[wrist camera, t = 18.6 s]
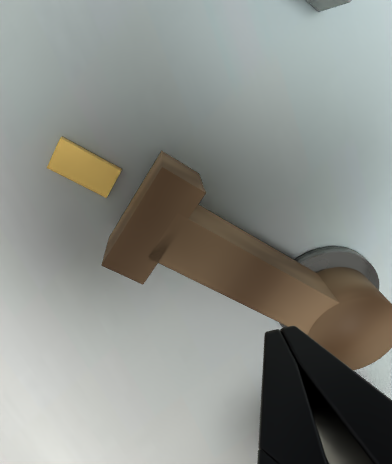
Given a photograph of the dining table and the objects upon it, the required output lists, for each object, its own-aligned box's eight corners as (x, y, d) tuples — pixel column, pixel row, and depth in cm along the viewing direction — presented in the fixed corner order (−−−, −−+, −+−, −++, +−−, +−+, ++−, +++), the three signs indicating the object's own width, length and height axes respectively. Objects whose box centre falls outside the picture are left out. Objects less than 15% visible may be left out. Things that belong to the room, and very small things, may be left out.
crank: (388, 289, 20) (421, 321, 18) (331, 345, 22) (353, 382, 19) (161, 150, 15) (162, 167, 13) (109, 236, 17) (101, 266, 14)
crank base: (325, 343, 23) (330, 351, 23) (29, 207, 17) (25, 212, 16) (393, 274, 21) (401, 280, 20) (83, 88, 15) (80, 89, 14)
